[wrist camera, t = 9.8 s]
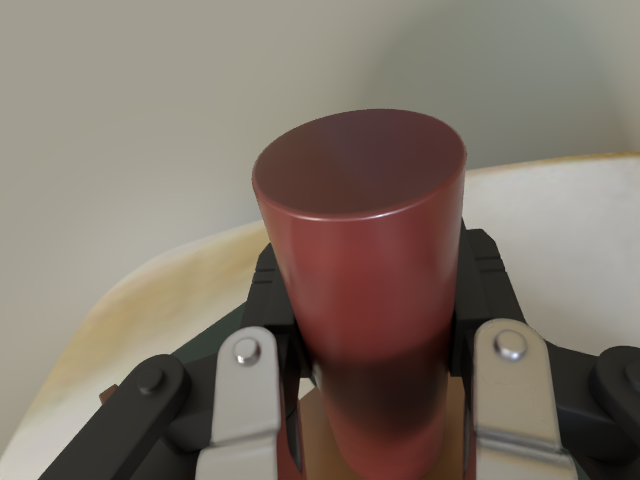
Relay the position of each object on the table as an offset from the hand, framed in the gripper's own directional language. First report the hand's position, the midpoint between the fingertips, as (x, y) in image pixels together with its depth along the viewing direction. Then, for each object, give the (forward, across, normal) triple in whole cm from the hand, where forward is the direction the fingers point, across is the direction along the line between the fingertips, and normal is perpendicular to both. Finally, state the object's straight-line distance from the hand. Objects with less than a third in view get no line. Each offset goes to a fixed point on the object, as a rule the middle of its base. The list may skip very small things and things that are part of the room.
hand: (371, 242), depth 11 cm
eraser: (-3, 0, +7) cm, 8 cm away
